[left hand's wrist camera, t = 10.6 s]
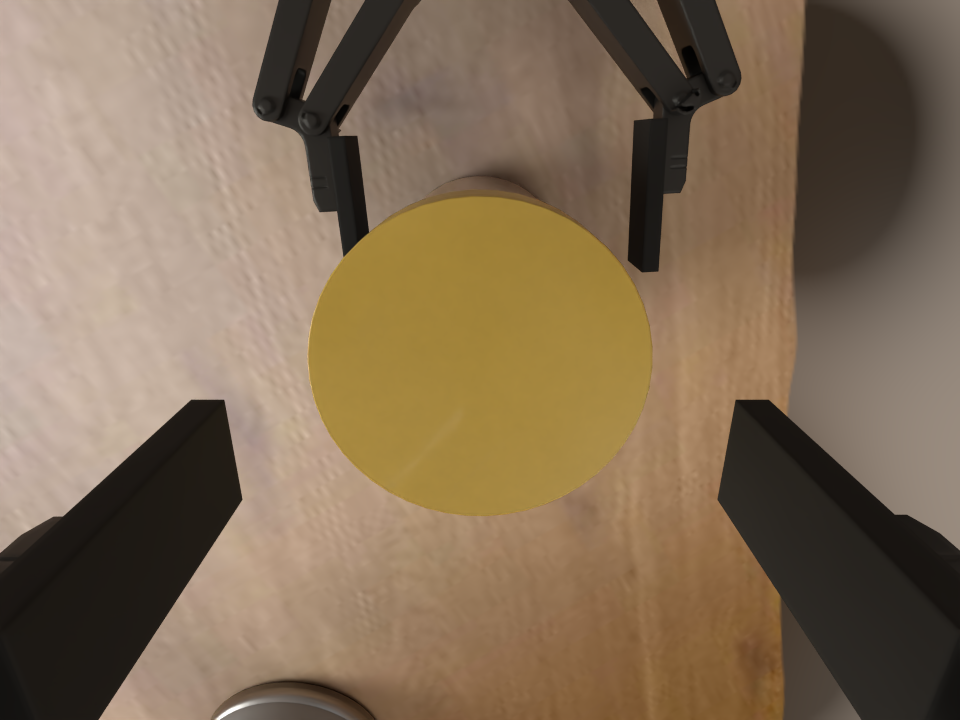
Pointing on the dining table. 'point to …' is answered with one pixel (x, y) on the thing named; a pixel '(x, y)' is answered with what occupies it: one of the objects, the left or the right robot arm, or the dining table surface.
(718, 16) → the right robot arm
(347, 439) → the lid
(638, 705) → the dining table surface
